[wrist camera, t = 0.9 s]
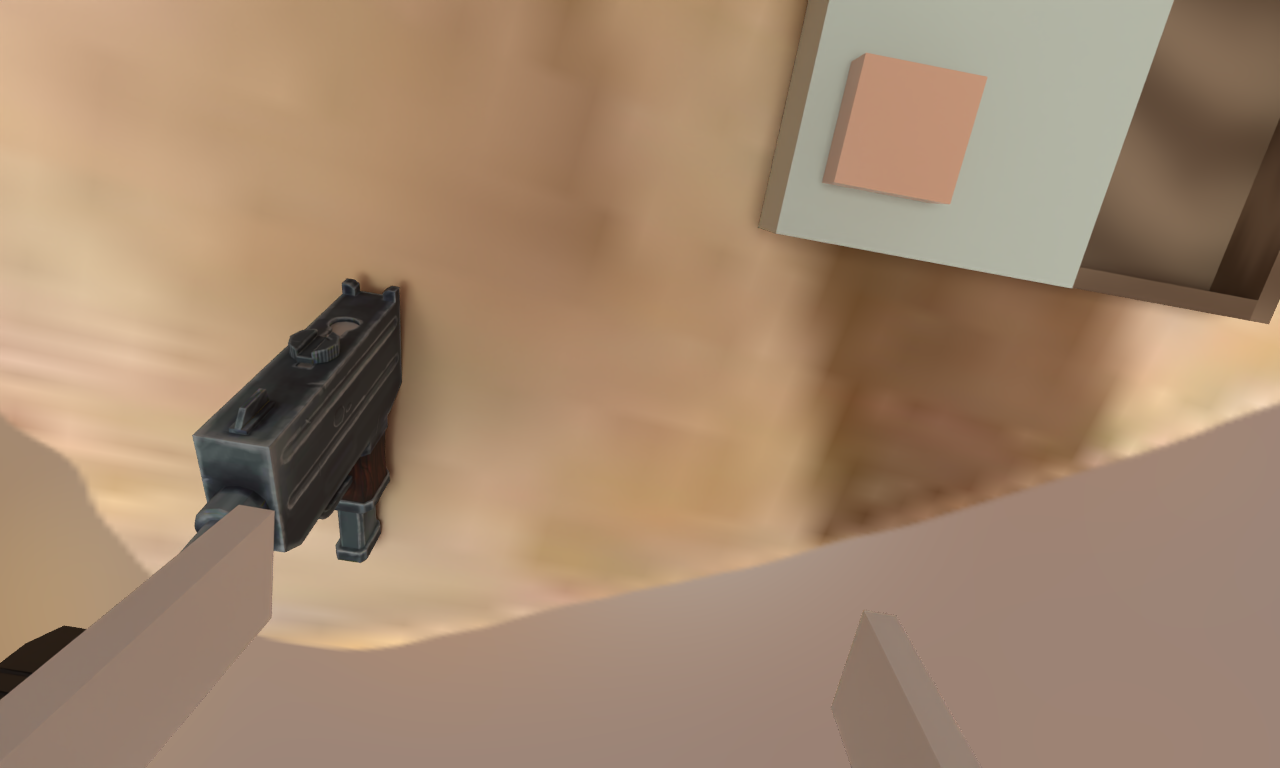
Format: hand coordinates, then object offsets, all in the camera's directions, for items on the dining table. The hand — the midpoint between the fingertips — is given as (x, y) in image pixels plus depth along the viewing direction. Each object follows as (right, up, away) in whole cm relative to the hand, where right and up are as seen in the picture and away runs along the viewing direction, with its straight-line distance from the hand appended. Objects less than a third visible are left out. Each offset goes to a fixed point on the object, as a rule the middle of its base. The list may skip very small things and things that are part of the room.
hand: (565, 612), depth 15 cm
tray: (+29, +18, +19) cm, 39 cm away
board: (+16, +21, +18) cm, 32 cm away
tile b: (+13, +16, +15) cm, 25 cm away
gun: (-13, +3, +24) cm, 27 cm away
